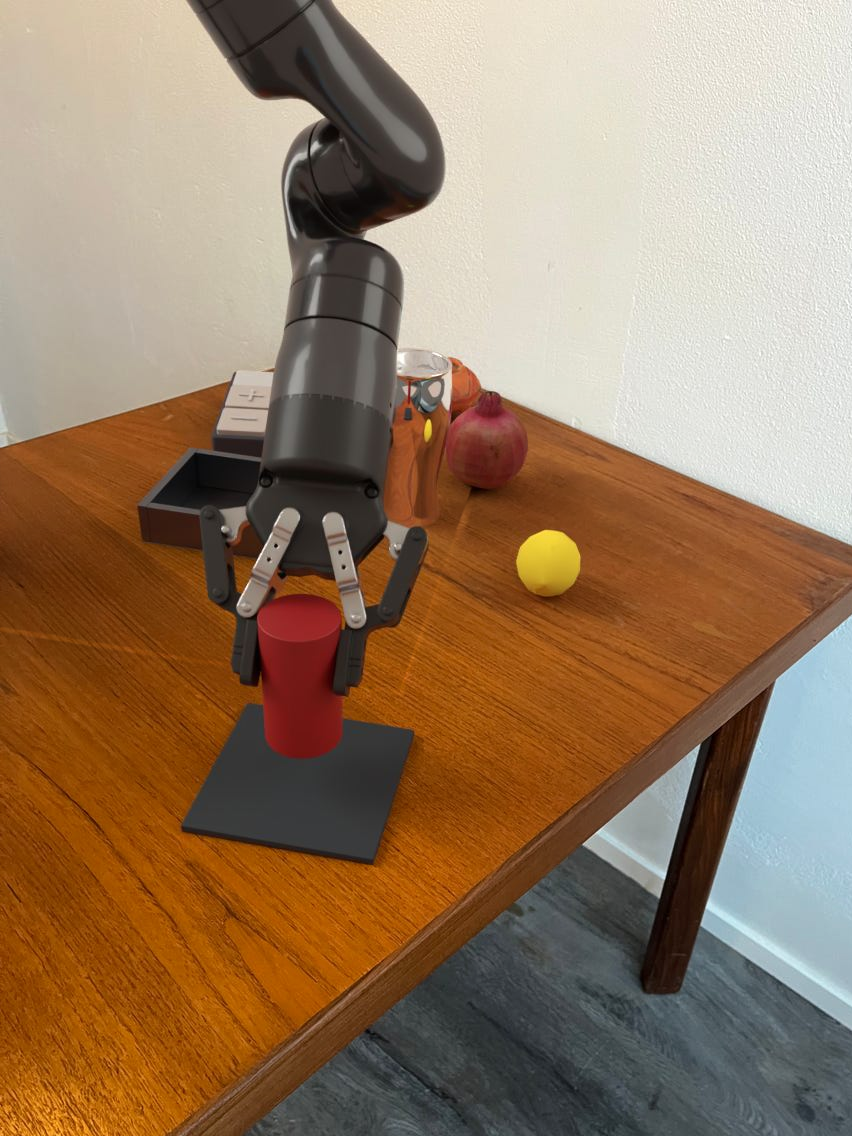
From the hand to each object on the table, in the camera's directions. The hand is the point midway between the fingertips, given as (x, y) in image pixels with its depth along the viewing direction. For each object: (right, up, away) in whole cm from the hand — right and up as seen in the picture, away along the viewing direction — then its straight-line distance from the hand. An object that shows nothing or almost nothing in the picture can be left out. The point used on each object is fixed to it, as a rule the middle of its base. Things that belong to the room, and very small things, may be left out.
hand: (295, 688), depth 59 cm
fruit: (+11, +18, +42) cm, 47 cm away
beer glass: (+4, +14, +36) cm, 39 cm away
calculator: (-11, +24, +48) cm, 55 cm away
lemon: (+16, +7, +28) cm, 33 cm away
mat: (-1, -6, +7) cm, 9 cm away
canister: (0, -3, +5) cm, 5 cm away
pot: (+7, +28, +55) cm, 63 cm away
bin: (-12, +13, +32) cm, 37 cm away
